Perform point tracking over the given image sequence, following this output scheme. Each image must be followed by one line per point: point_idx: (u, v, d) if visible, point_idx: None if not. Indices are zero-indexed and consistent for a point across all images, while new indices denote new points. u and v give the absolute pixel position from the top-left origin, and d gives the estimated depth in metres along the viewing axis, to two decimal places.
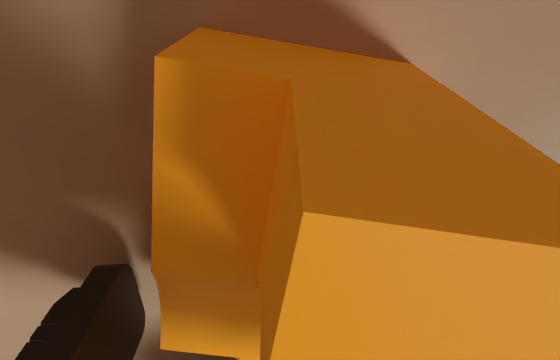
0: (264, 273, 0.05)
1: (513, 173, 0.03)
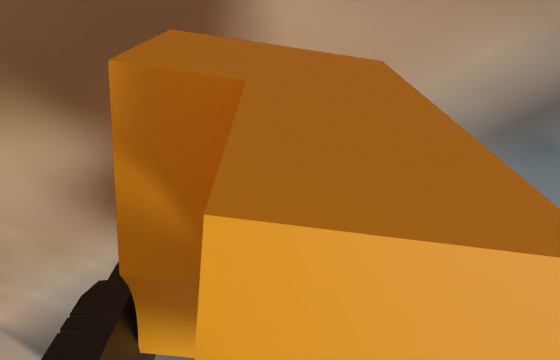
0: None
1: (448, 171, 0.03)
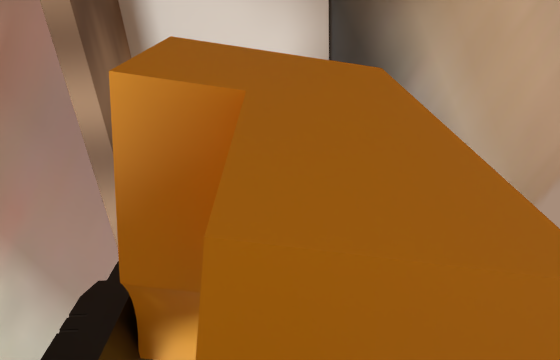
0: None
1: (446, 186, 0.03)
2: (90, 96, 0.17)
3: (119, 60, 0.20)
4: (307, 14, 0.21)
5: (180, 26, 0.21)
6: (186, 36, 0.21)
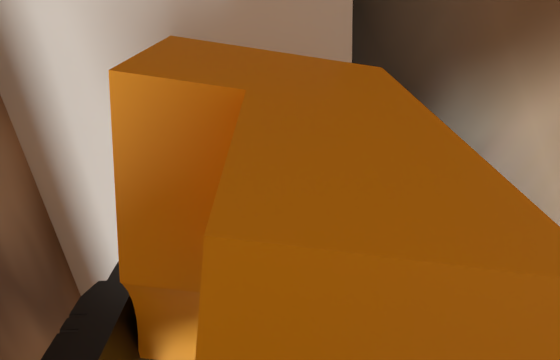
0: None
1: (447, 185, 0.03)
2: None
3: None
4: (313, 52, 0.12)
5: (91, 74, 0.12)
6: (104, 90, 0.12)
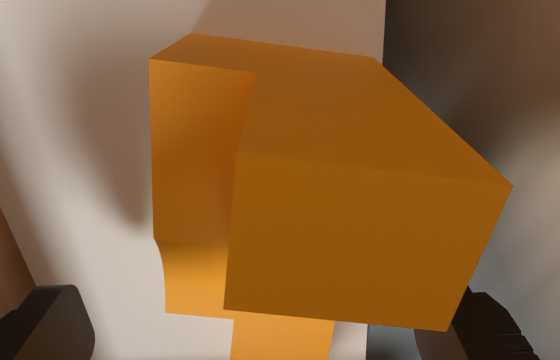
0: None
1: (406, 134, 0.05)
2: None
3: None
4: None
5: (65, 89, 0.10)
6: (81, 108, 0.10)
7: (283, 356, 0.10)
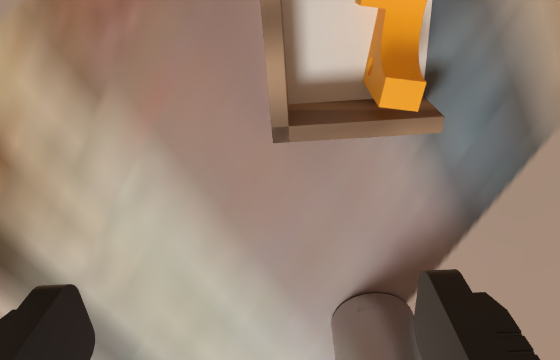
0: None
1: None
2: None
3: None
4: None
5: None
6: None
7: (403, 26, 0.27)
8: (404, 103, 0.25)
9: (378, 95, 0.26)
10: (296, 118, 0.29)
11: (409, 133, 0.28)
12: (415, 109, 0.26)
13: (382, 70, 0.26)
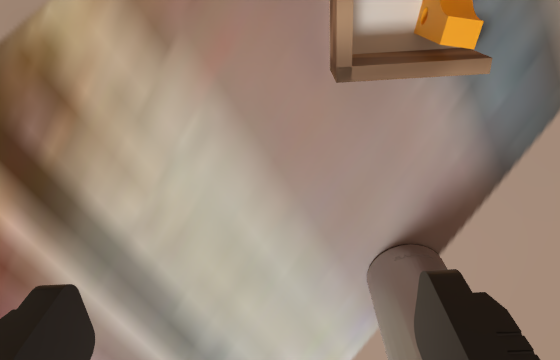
0: None
1: None
2: None
3: None
4: None
5: None
6: None
7: None
8: (462, 41, 0.29)
9: (438, 35, 0.29)
10: (356, 62, 0.32)
11: (460, 74, 0.31)
12: (472, 47, 0.29)
13: (442, 12, 0.29)
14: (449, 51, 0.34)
